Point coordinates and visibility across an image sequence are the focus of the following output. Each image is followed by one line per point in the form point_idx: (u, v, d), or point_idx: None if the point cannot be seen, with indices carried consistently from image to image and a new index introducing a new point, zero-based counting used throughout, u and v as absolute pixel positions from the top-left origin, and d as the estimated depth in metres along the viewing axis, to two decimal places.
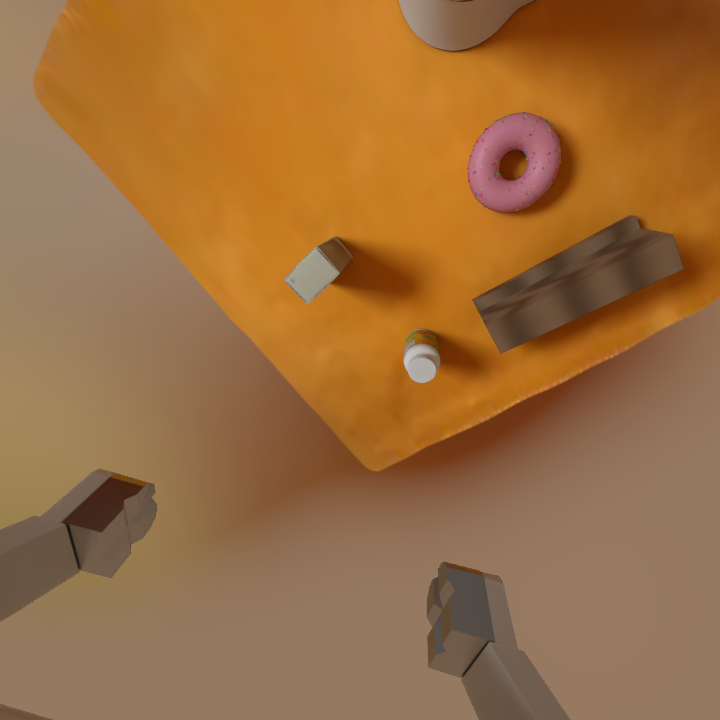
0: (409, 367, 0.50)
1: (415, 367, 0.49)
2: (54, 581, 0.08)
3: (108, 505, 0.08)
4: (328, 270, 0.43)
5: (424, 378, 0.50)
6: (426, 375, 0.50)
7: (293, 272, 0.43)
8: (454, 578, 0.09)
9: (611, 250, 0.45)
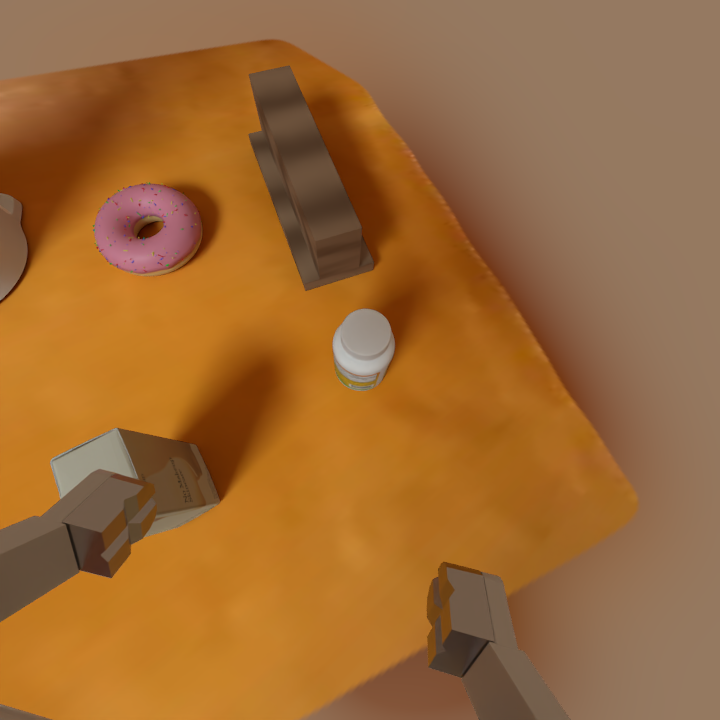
0: (356, 351, 0.27)
1: (357, 341, 0.27)
2: (53, 581, 0.08)
3: (108, 505, 0.08)
4: (101, 448, 0.22)
5: (382, 329, 0.27)
6: (376, 325, 0.27)
7: None
8: (454, 578, 0.09)
9: (268, 140, 0.40)
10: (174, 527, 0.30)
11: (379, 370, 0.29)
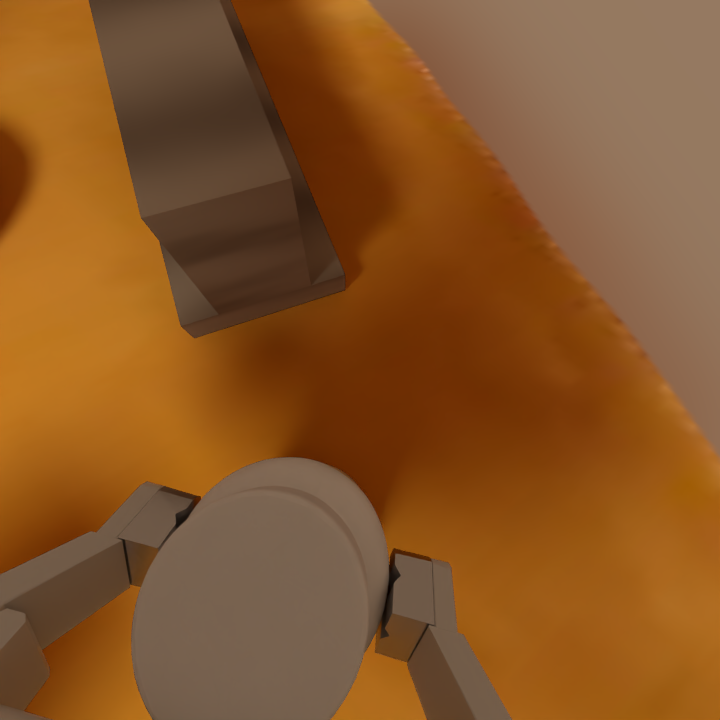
0: None
1: (203, 679, 0.06)
2: (107, 596, 0.08)
3: (160, 519, 0.08)
4: None
5: (327, 604, 0.06)
6: (302, 581, 0.06)
7: None
8: (402, 564, 0.09)
9: None
10: None
11: None
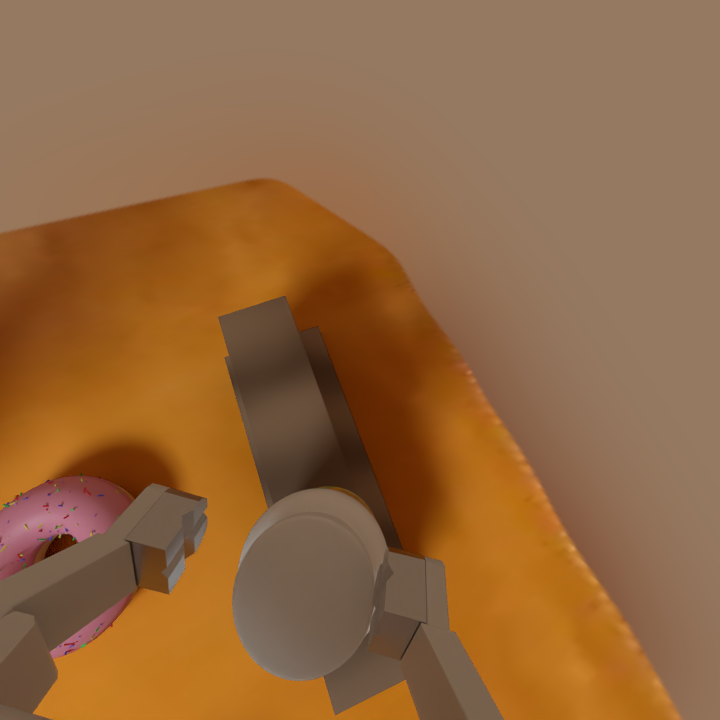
0: (271, 667, 0.09)
1: (276, 630, 0.09)
2: (114, 598, 0.08)
3: (167, 521, 0.08)
4: None
5: (349, 587, 0.10)
6: (334, 573, 0.10)
7: None
8: (395, 562, 0.09)
9: None
10: None
11: None
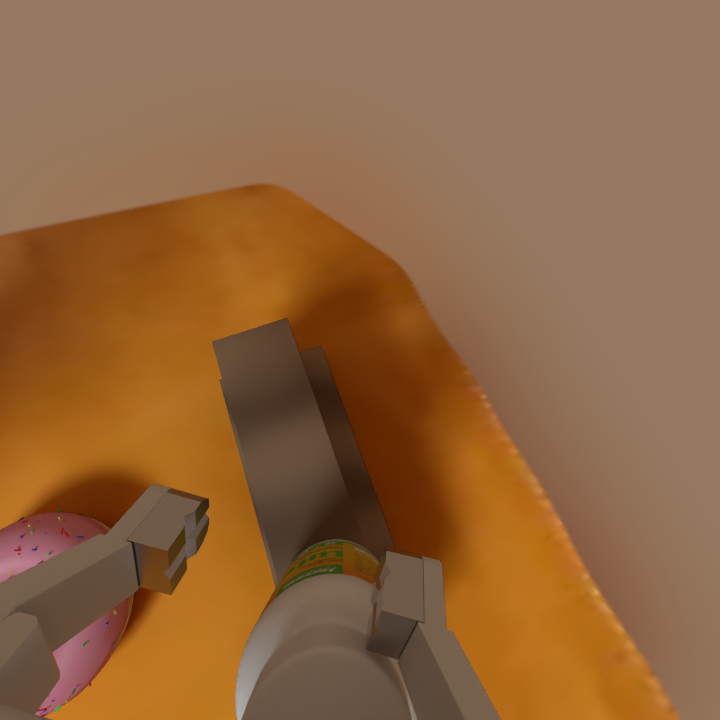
0: None
1: None
2: (116, 599, 0.08)
3: (169, 522, 0.08)
4: None
5: None
6: None
7: None
8: (393, 561, 0.09)
9: None
10: None
11: None
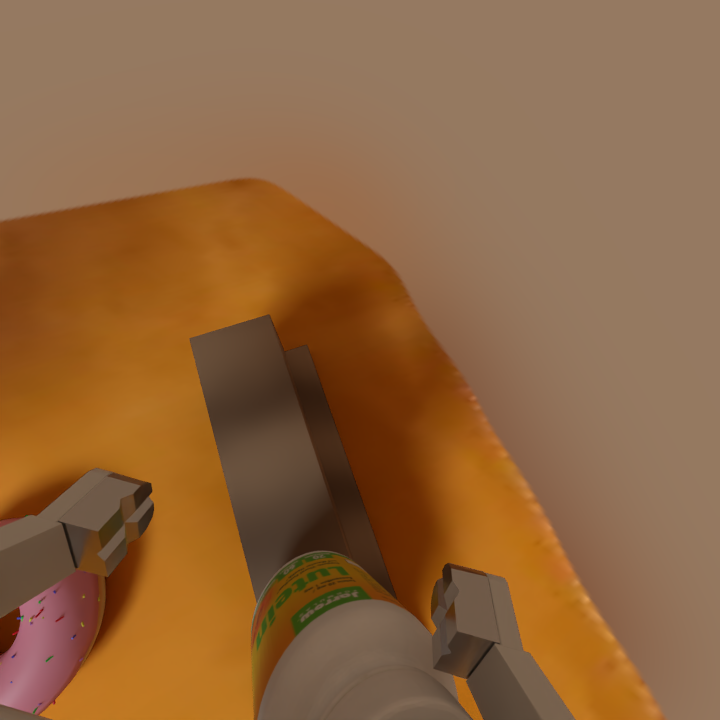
0: None
1: None
2: (51, 580, 0.08)
3: (104, 504, 0.08)
4: None
5: None
6: None
7: None
8: (459, 579, 0.09)
9: None
10: None
11: None
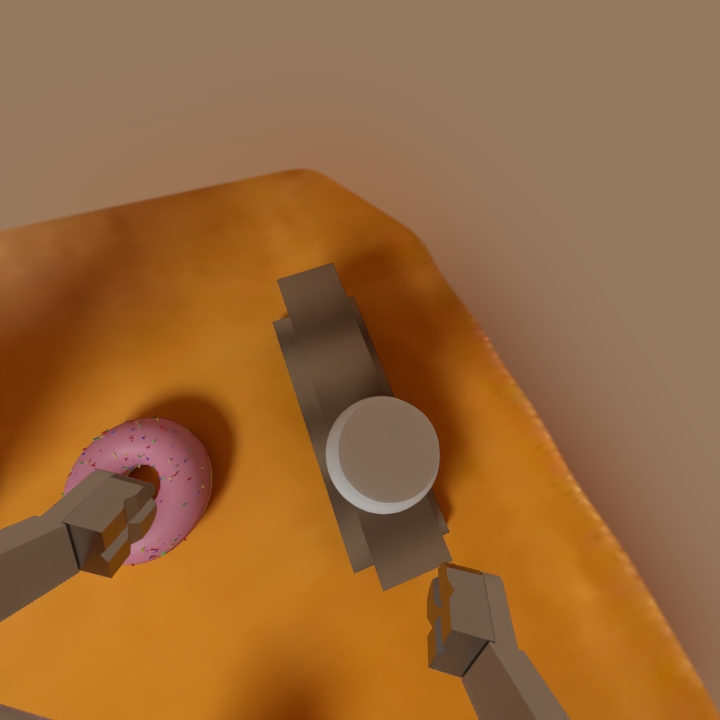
0: (371, 495, 0.13)
1: (373, 472, 0.13)
2: (54, 580, 0.08)
3: (108, 505, 0.08)
4: None
5: (421, 443, 0.14)
6: (410, 435, 0.14)
7: None
8: (454, 578, 0.09)
9: None
10: None
11: (413, 504, 0.16)
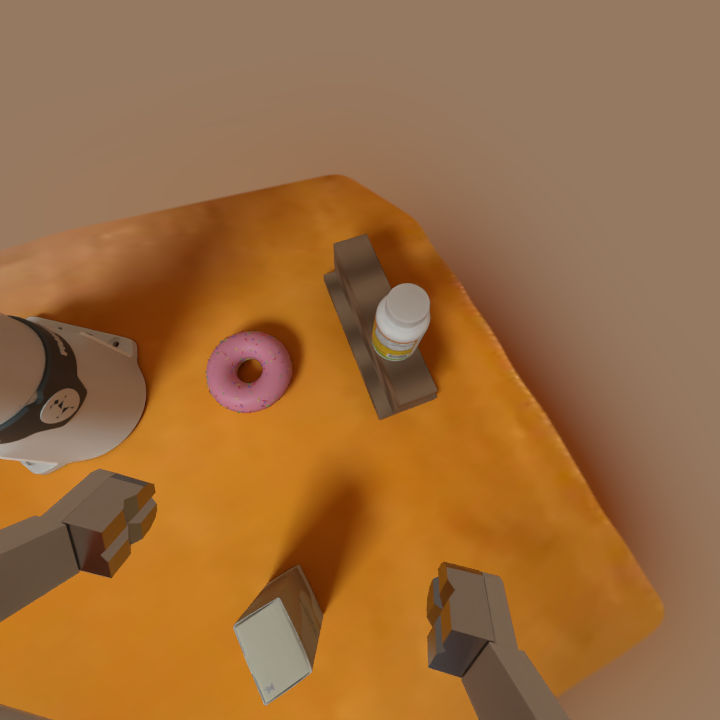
0: (401, 319, 0.31)
1: (401, 310, 0.31)
2: (54, 581, 0.08)
3: (108, 505, 0.08)
4: (270, 615, 0.29)
5: (422, 300, 0.32)
6: (417, 297, 0.32)
7: (258, 681, 0.27)
8: (454, 578, 0.09)
9: (345, 289, 0.47)
10: None
11: (418, 337, 0.34)
